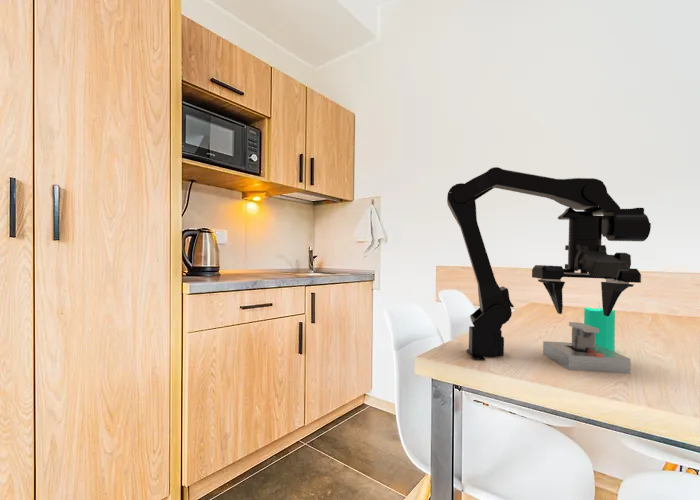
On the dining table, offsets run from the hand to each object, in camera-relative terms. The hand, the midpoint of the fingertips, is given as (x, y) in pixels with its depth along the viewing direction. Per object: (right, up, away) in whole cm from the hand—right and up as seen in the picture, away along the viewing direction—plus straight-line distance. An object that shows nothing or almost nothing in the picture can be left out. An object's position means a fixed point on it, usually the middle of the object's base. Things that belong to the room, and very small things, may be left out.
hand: (582, 314), depth 71 cm
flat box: (0, -11, 0) cm, 11 cm away
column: (0, -10, 0) cm, 10 cm away
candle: (+11, -11, +11) cm, 19 cm away
